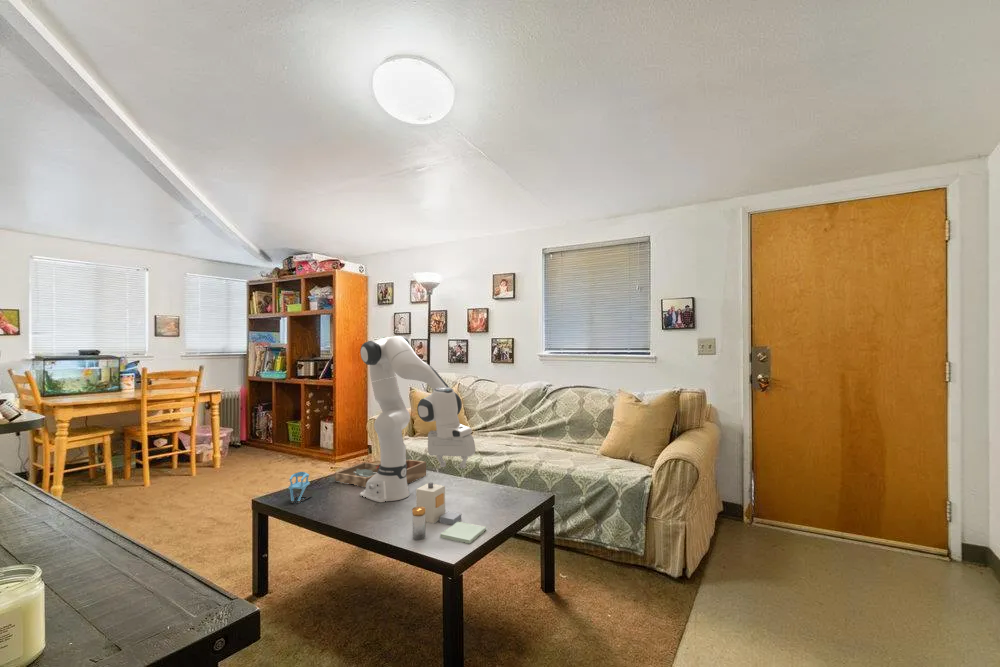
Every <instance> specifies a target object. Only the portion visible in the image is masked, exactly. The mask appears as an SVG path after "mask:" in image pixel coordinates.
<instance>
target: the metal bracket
mask: <svg viewBox="0 0 1000 667" xmlns="http://www.w3.org/2000/svg"><path fill="white" fill-rule="evenodd" d="M353 472H354V471H353ZM354 473H356V475H355V476H361V477H370V476H372V475H375V474H376V473H373V472H372V470H366V469H364V470H360V469H357V470H356V472H354Z"/></svg>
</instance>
